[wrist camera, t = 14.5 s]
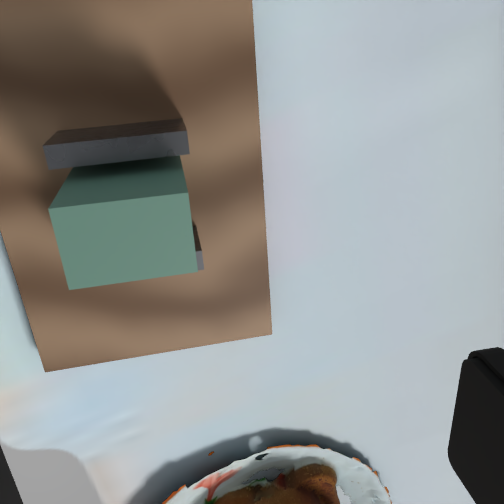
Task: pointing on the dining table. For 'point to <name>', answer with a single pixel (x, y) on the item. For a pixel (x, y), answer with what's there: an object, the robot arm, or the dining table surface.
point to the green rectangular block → (124, 222)
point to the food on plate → (288, 480)
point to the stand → (128, 149)
